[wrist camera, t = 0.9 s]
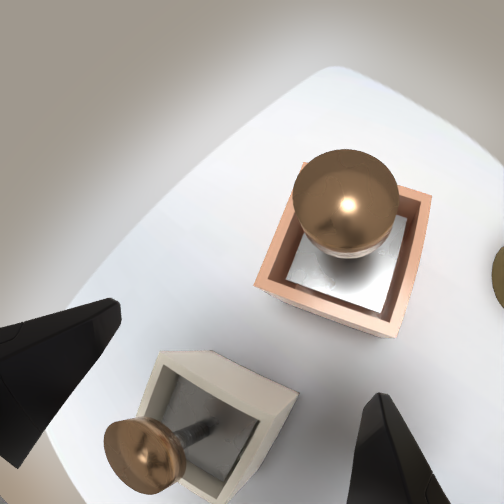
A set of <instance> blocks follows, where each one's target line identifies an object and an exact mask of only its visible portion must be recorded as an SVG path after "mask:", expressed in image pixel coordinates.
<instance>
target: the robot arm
mask: <svg viewBox="0 0 504 504" xmlns="http://www.w3.org/2000/svg"><path fill="white" fill-rule="evenodd" d="M121 320H122V318H121V307H120V303H119V302H118V301H116V300H114V299H112V298H106V299H103V300H99V301H96V302H92V303H89V304H85V305H81V306H78V307H74V308H71V309H67V310H64V311H60V312H57V313H53V314H50V315H46V316H42V317H39V318H35V319H32V320H28V321H25V322H21V323H17V324H14V325H10V326H6V327H2V328H0V456H1V457H3V458H4V459H5V460H6V461H8V462H9V463H10V464H11V465H13V466H14V467H15V468H17V469H18V468H19V467H20V466H21V464H22V463H23V461H24V459H25V458H26V457H27V455H28V454H29V452H30V451H31V449H32V448H33V446H34V445H35V443H36V442H37V441H38V439H39V438H40V436H41V435H42V433H43V431H44V430H45V429H46V427H47V426H48V425H49V423H50V422H51V420H52V419H53V418H54V416H55V415H56V414H57V412H58V411H59V409H60V408H61V407H62V405H63V404H64V403H65V401H66V400H67V399H68V397H69V396H70V395H71V393H72V392H73V391H74V389H75V388H76V387H77V385H78V384H79V383H80V382H81V380H82V379H83V378H84V376H85V375H86V374H87V373H88V371H89V370H90V369H91V367H92V366H93V365H94V364H95V362H96V361H97V360H98V359H99V357H100V356H101V354H102V353H103V351H104V350H105V348H106V347H107V345H108V343H109V342H110V340H111V339H112V337H113V336H114V334H115V332H116V331H117V329H118V328H119V326H120V324H121ZM432 473H433V472H432V470H431V468H430V466H429V464H428V462H427V460H426V459H425V457H424V455H423V453H422V451H421V450H420V448H419V446H418V444H417V442H416V441H415V439H414V437H413V435H412V434H411V432H410V430H409V428H408V427H407V425H406V423H405V421H404V420H403V418H402V416H401V414H400V413H399V411H398V409H397V408H396V406H395V404H394V403H393V401H392V399H391V397H390V396H389V395H388V394H384V393H376V394H375V395H374V396H373V397H372V399H371V400H370V401H369V402H368V403H367V404H366V406H365V407H364V409H363V413H362V418H361V423H360V428H359V433H358V437H357V442H356V446H355V452H354V459H353V467H352V474H351V480H350V487H349V493H348V498H347V504H451V503H450V501H449V500H448V498H447V497H446V495H445V493H444V492H443V490H442V488H441V486H440V485H439V483H438V481H437V479H436V477H435V475H434V474H432ZM0 504H7V502H6V501H5V500H4V499H3V498H2V497H1V496H0Z"/></svg>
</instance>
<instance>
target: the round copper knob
mask: <svg viewBox="0 0 504 504" xmlns="http://www.w3.org/2000/svg"><path fill="white" fill-rule="evenodd" d="M257 422H258V419H256V418H254V417H252V416H250V415H248V414H246V413H244V412H242V411H240V410H238V409H236V408H234V407H233V406H231V405H229V404H227V403H225V402H224V401H222V400H220V399H218V398H217V397H215V396H213V395H211V394H210V393H208V392H206V391H205V390H203V389H201V388H200V387H198V386H196V385H195V384H193V383H192V382H190V381H188V380H187V379H185V378H184V377H182V376H181V375H180V376H179V378H178V381H177V383H176V386H175V388H174V391H173V393H172V396H171V398H170V401H169V404H168V406H167V409H166V411H165V414H164V416H163V419H162V421H161V422H160V421H158V420H156V419H154V418H151V417H145V416H141V417H136V418H132V419H127V420H123V421H118V422H114V423H112V424H111V425H109V427H108V428H107V429H106V432H105V435H104V449H105V453H106V457H107V459H108V462H109V464H110V466H111V467H112V469H113V471H114V472H115V473H116V475H117V476H118V477H119V478H120V479H121V480H122V481H123V482H124V483H125V484H126V485H127V486H129V487H130V488H132V489H133V490H135V491H137V492H139V493H143V494H147V495H153V494H157V493H159V492H161V491H163V490H164V489H166V488H168V487H169V486H171V485H173V484H175V483H176V482H178V481H179V480H180V479H181V478H182V477H183V476H184V474H185V471H186V459H187V460H188V461H190V462H191V463H193V464H194V465H196V466H197V467H199V468H201V469H202V470H204V471H205V472H207V473H209V474H210V475H212V476H214V477H215V478H217V479H219V480H221V481H222V482H223V481H224V480H226V478H227V477H228V475H229V473H230V471H231V470H232V468H233V466H234V464H235V463H236V461H237V459H238V457H239V455H240V454H241V452H242V450H243V448H244V446H245V445H246V443H247V441H248V439H249V437H250V435H251V433H252V431H253V429H254V427H255V426H256V424H257Z"/></svg>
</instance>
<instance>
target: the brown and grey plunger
mask: <svg viewBox="0 0 504 504" xmlns="http://www.w3.org/2000/svg"><path fill="white" fill-rule="evenodd" d="M292 200H293V206H294V210H295V213H296V215H297V218H298V220H299V222H300V224H301V226H302V228H303V230H304V234H303V237H302V239H301V242H300V245H299V247H298V250H297V252H296V255H295V258H294V260H293V263H292V265H291V268H290V270H289V273H288V275H287V278H286V280H287V281H289V282H292V283H295V284H298V285H300V286H303V287H306V288H309V289H311V290H314V291H317V292H320V293H323V294H326V295H328V296H331V297H334V298H337V299H340V300H342V301H345V302H348V303H351V304H354V305H357V306H360V307H363V308H365V309H368V310H371V311H374V312H377V313H381V310H382V307H383V304H384V301H385V298H386V295H387V292H388V289H389V286H390V283H391V279H392V276H393V272H394V269H395V265H396V262H397V258H398V254H399V251H400V247H401V243H402V239H403V235H404V230H405V226H406V221H407V218H405V217H402V216H399V215H396V214H397V210H398V206H399V190H398V186H397V183H396V181H395V178H394V176H393V175H392V173H391V172H390V170H389V169H388V168H387V167H386V166H385V165H384V164H383V163H382V162H381V161H379V160H378V159H377V158H375V157H373V156H371V155H369V154H367V153H364V152H361V151H357V150H349V149H341V150H334V151H330V152H326V153H324V154H321V155H319V156H317V157H316V158H314V159H313V160H311V161H310V162H309V163H308V164H307V165H305V167H304V168H303V169H302V170H301V172H300V173H299V175H298V176H297V179H296V181H295V184H294V187H293V194H292Z"/></svg>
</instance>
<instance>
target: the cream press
mask: <svg viewBox="0 0 504 504" xmlns="http://www.w3.org/2000/svg"><path fill="white" fill-rule="evenodd" d="M180 375H181V376H182V377H184V378H185V379H187V380H188V381H190V382H192V383H193V384H195V385H196V386H198V387H200V388H201V389H203V390H205V391H206V392H208V393H210V394H211V395H213V396H215V397H217V398H218V399H220V400H222V401H224V402H225V403H227V404H229V405H231V406H233V407H234V408H236V409H238V410H240V411H242V412H244V413H246V414H248V415H250V416H252V417H254V418H256V419H258V422H257V424H256V426H255V427H254V429H253V431H252V433H251V435H250V437H249V439H248V441H247V443H246V445H245V446H244V448H243V450H242V452H241V454H240V455H239V457H238V459H237V461H236V463H235V464H234V466H233V468H232V470H231V471H230V473H229V475H228V477H227V478H226V480H224V481H223V482H222V481H221V480H219V479H217V478H215V477H214V476H212V475H210V474H209V473H207V472H205V471H204V470H202V469H201V468H199V467H197V466H196V465H194V464H193V463H191V462H190V461H188V460H187V459H186V471H185V474H184V476H183V477H182V478H181V479H180V480H179V481H178V483H180V484H181V485H183V486H184V487H186V488H187V489H189V490H190V491H192V492H193V493H195V494H196V495H198V496H200V497H201V498H203V499H205V500H206V501H208V502H210V503H211V504H227V503H228V502H229V501H230V500H231V499H232V498H233V497H234V496H235V495H236V494H237V493H238V491H239V490H240V489H241V488H242V487H243V486H244V485H245V484H246V483H247V482H248V480H249V479H250V478H251V477H252V476H253V475H254V474H255V473H256V471H257V470H258V469H259V467H260V465H261V464H262V462H263V460H264V459H265V457H266V455H267V454H268V452H269V450H270V448H271V447H272V445H273V443H274V441H275V439H276V438H277V436H278V434H279V432H280V430H281V428H282V427H283V425H284V423H285V421H286V419H287V417H288V415H289V413H290V411H291V409H292V407H293V405H294V403H295V401H296V399H297V397H298V395H299V392H296V391H294V390H292V389H289V388H287V387H285V386H283V385H280V384H278V383H276V382H274V381H272V380H270V379H267V378H265V377H263V376H261V375H259V374H257V373H255V372H253V371H251V370H249V369H247V368H245V367H243V366H241V365H239V364H237V363H235V362H233V361H231V360H229V359H227V358H225V357H223V356H221V355H219V354H217V353H216V352H214V351H212V350H209V351H160V352H159V354H158V357H157V359H156V362H155V365H154V367H153V370H152V373H151V375H150V378H149V381H148V384H147V386H146V389H145V392H144V395H143V398H142V400H141V403H140V406H139V409H138V412H137V415H136V417H141V416H145V417H151V418H154V419H156V420H158V421H160V422H161V421H162V419H163V416H164V414H165V411H166V409H167V406H168V404H169V401H170V398H171V396H172V393H173V391H174V388H175V386H176V383H177V381H178V378H179V376H180Z"/></svg>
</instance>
